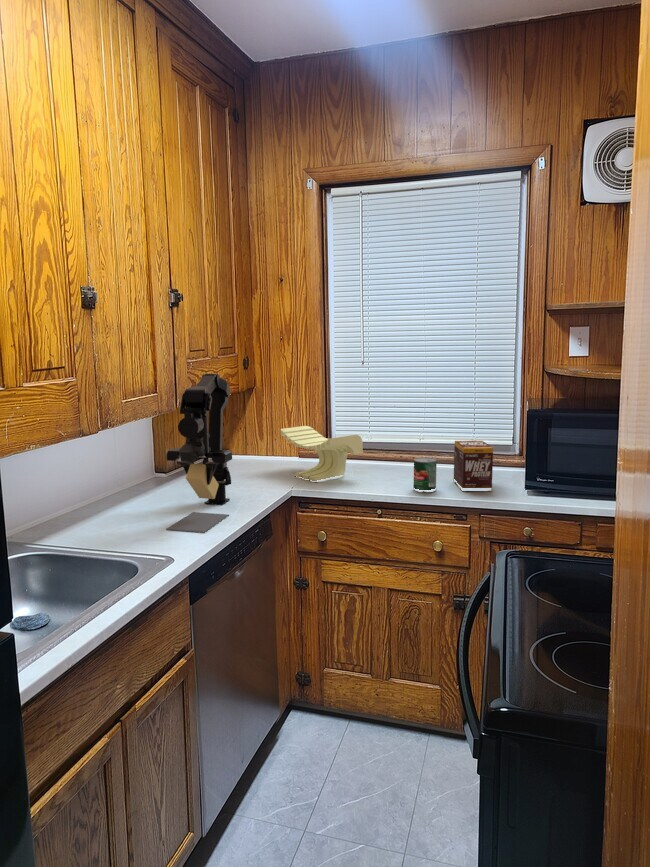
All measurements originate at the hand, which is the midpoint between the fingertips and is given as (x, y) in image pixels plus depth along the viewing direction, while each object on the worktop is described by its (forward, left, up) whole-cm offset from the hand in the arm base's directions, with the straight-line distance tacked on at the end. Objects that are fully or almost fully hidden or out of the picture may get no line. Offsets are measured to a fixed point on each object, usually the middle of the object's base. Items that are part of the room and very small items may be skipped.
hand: (200, 484), depth 185 cm
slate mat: (+2, 0, -11) cm, 11 cm away
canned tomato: (-51, +61, -12) cm, 80 cm away
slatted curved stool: (-63, +20, -12) cm, 67 cm away
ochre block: (-6, 0, -4) cm, 7 cm away
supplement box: (-60, +77, -12) cm, 98 cm away
